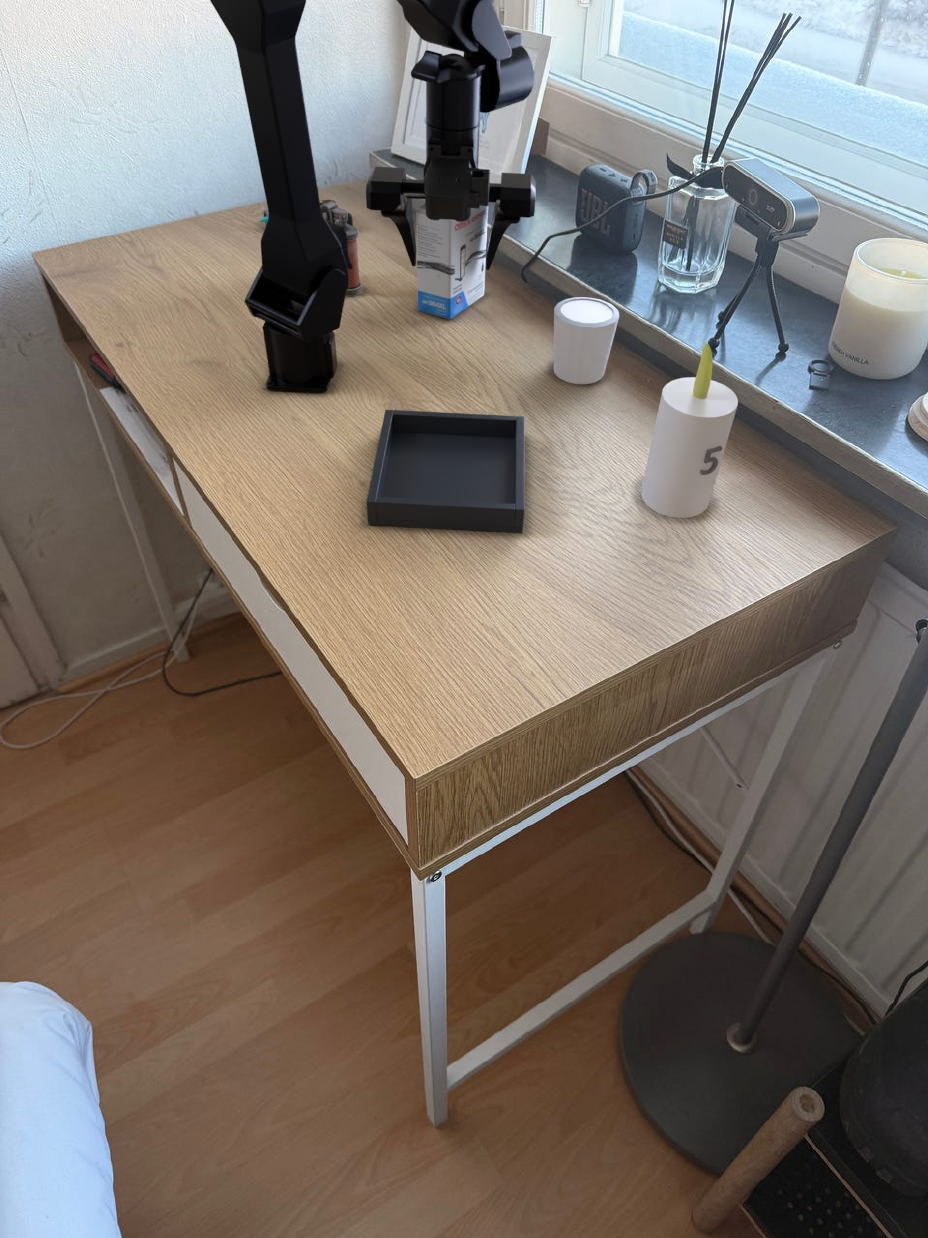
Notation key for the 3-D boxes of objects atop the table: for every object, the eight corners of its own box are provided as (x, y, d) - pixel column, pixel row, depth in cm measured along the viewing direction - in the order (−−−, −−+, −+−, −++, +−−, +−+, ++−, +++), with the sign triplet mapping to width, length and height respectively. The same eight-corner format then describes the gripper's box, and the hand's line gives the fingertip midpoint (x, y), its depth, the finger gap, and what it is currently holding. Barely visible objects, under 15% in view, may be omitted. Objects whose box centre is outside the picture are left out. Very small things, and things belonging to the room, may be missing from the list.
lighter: (367, 289, 108) (362, 206, 101) (350, 299, 106) (344, 214, 99) (316, 272, 111) (309, 190, 104) (299, 282, 109) (290, 199, 102)
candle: (667, 526, 77) (705, 375, 67) (627, 485, 81) (657, 336, 71) (724, 508, 79) (770, 359, 68) (683, 469, 83) (720, 322, 73)
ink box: (449, 321, 103) (451, 219, 95) (415, 310, 105) (413, 209, 96) (486, 294, 108) (491, 195, 100) (452, 284, 110) (454, 186, 102)
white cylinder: (607, 390, 93) (617, 329, 88) (543, 382, 94) (550, 321, 89) (612, 359, 98) (622, 299, 93) (551, 352, 99) (558, 292, 94)
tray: (367, 525, 76) (366, 501, 74) (386, 431, 87) (385, 409, 85) (522, 533, 76) (524, 509, 74) (522, 438, 86) (524, 416, 84)
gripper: (354, 143, 87) (363, 294, 98) (541, 152, 86) (528, 302, 98) (369, 108, 94) (375, 251, 106) (540, 116, 94) (528, 259, 105)
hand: (450, 266), depth 103 cm, fingers open, 8 cm apart
